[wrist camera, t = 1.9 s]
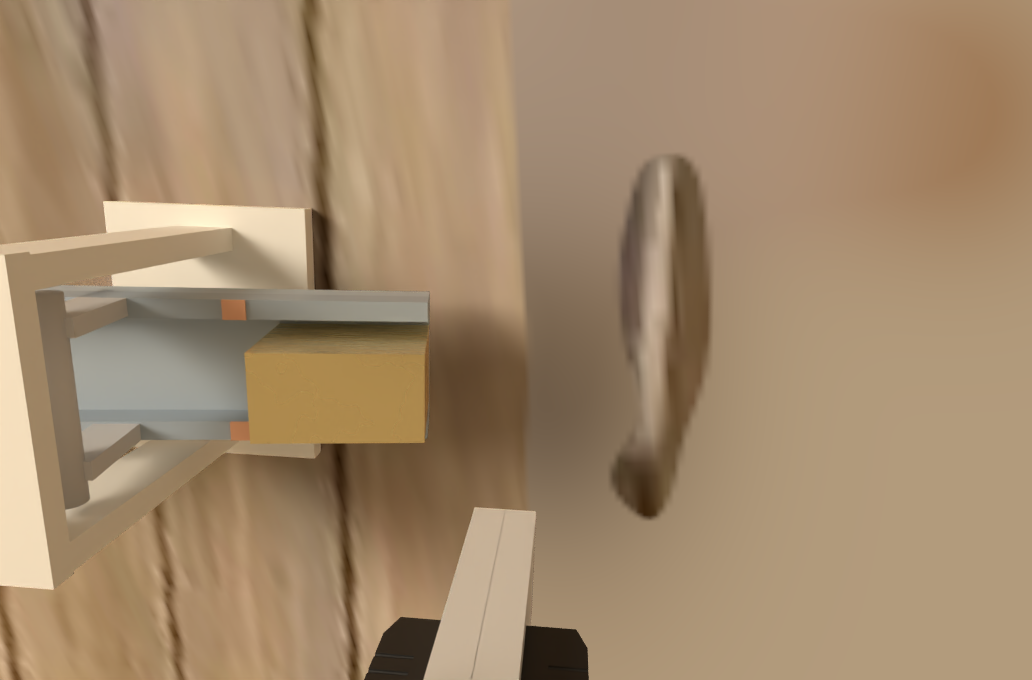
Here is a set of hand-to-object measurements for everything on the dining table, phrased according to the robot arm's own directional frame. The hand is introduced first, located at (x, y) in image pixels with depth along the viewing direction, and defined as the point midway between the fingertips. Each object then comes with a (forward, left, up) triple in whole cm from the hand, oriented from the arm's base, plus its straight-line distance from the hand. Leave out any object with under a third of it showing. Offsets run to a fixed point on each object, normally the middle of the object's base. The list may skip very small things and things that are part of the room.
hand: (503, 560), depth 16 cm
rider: (0, -9, -16) cm, 18 cm away
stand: (0, -18, -21) cm, 28 cm away
